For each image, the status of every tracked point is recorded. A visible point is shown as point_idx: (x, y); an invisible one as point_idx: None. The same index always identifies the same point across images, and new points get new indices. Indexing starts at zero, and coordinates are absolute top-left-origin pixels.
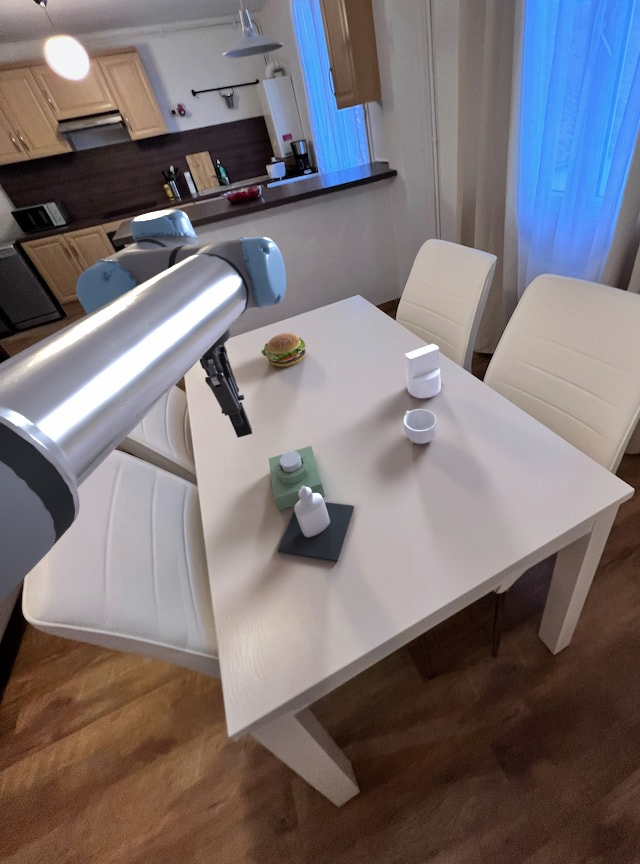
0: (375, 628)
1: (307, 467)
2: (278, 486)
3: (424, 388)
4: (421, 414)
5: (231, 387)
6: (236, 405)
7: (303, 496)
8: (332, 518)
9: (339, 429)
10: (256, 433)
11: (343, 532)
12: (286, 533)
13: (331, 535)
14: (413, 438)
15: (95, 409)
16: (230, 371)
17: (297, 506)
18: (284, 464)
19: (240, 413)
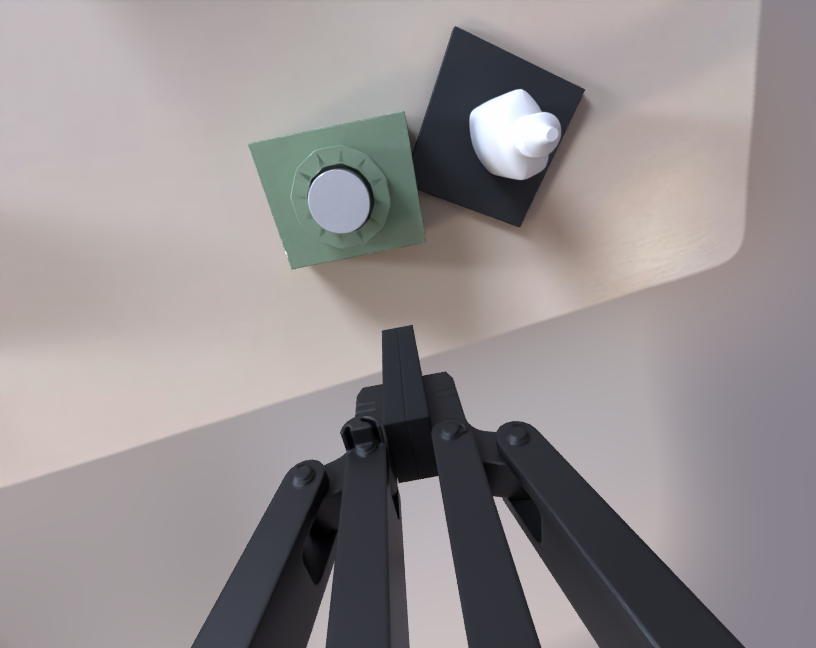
0: (739, 12)
1: (357, 150)
2: (391, 234)
3: None
4: None
5: (520, 589)
6: (568, 467)
7: (558, 139)
8: (478, 94)
9: (131, 49)
10: (165, 314)
11: (524, 66)
12: (488, 210)
13: None
14: None
15: None
16: (253, 644)
17: (533, 167)
18: (360, 217)
19: (427, 403)
